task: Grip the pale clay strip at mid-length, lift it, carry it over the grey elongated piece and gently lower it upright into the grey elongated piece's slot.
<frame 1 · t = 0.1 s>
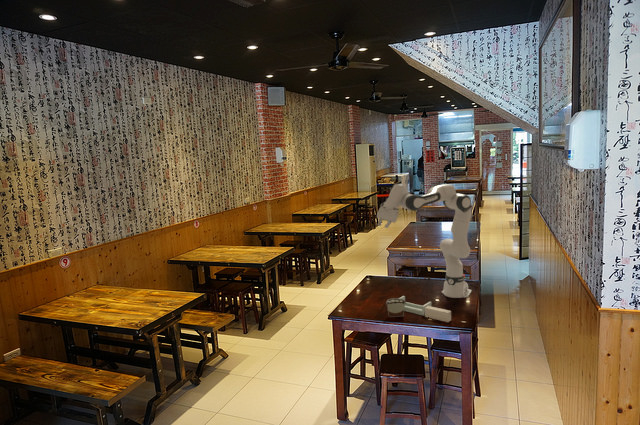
hand: (382, 226, 275), 54 cm above the table, tool tilted 30°, fingers open, 8 cm apart
clay strip: (437, 318, 261), on the table
food container: (395, 315, 269), on the table
grey elongated piece: (413, 309, 276), on the table
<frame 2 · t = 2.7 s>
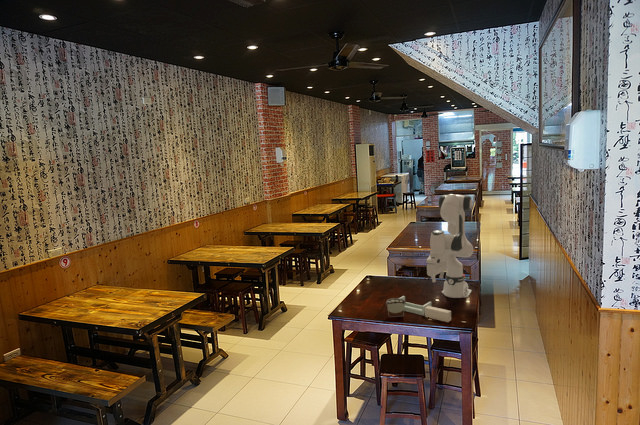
hand: (437, 280, 257), 24 cm above the table, tool pointing down, fingers open, 8 cm apart
nothing on the table moved.
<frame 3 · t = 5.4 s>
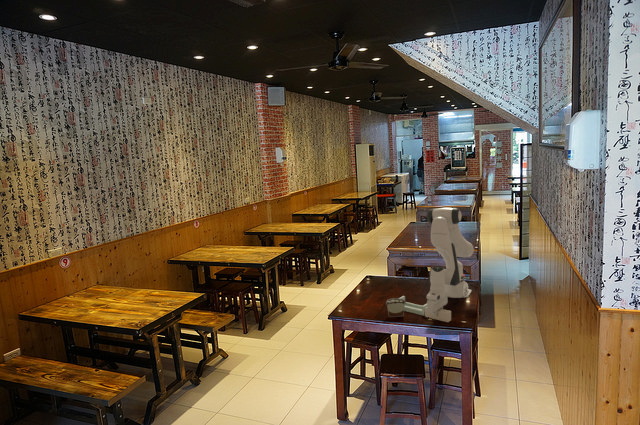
hand: (437, 315, 261), 2 cm above the table, tool pointing down, fingers closed on clay strip, 4 cm apart
clay strip: (437, 318, 261), on the table, touching gripper
everything else where it was.
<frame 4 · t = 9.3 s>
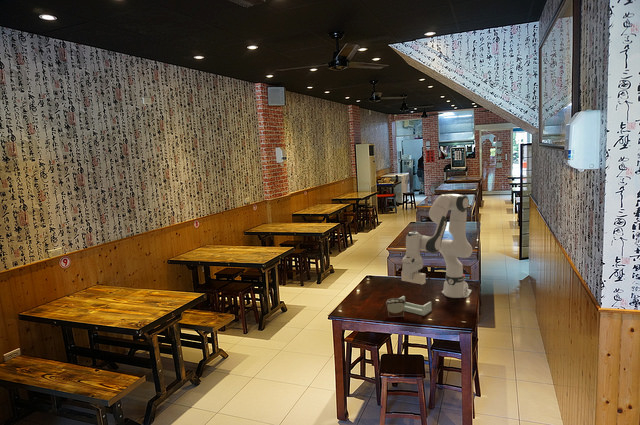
hand: (413, 278, 273), 21 cm above the table, tool pointing down, fingers closed on clay strip, 4 cm apart
clay strip: (413, 281, 274), point 19 cm above the table, touching gripper
everything else where it was.
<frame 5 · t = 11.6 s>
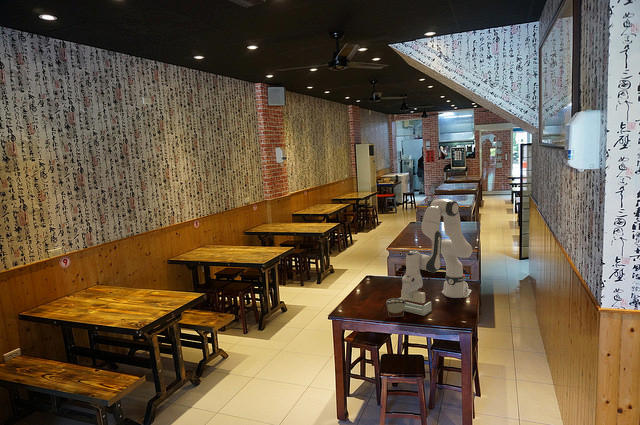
hand: (413, 297, 275), 9 cm above the table, tool pointing down, fingers closed on clay strip, 4 cm apart
clay strip: (413, 300, 275), point 6 cm above the table, touching gripper
everything else where it was.
when the fingers open (5 cm above the table, at t = 13.2 s): clay strip drops 1 cm, resting on grey elongated piece.
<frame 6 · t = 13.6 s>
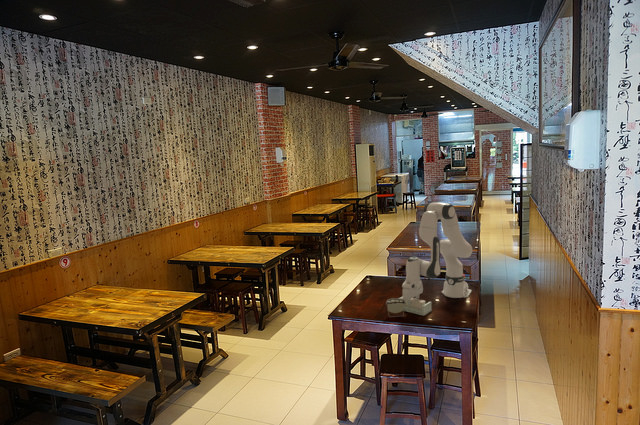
hand: (413, 303, 276), 5 cm above the table, tool pointing down, fingers open, 8 cm apart
clay strip: (413, 308, 276), point 1 cm above the table, touching grey elongated piece
everything else where it was.
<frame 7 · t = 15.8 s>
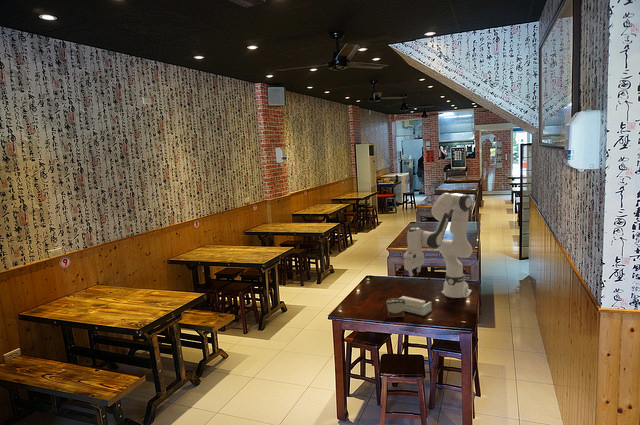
hand: (414, 273, 274), 24 cm above the table, tool pointing down, fingers open, 8 cm apart
nothing on the table moved.
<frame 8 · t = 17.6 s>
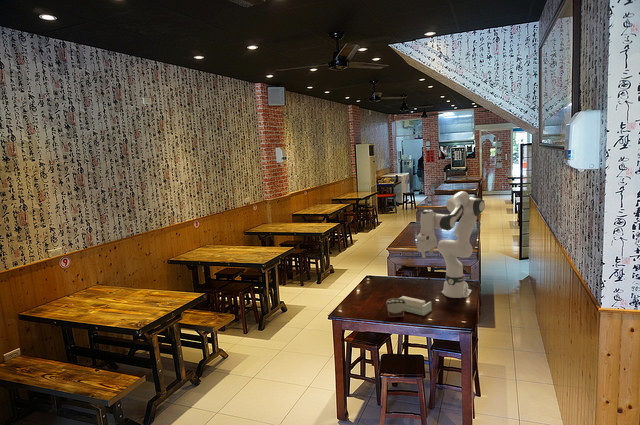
hand: (427, 256, 276), 34 cm above the table, tool pointing down, fingers open, 8 cm apart
nothing on the table moved.
at the end: clay strip 0.1 cm off-centre on the grey elongated piece, point 1.0 cm above the grey elongated piece's base; clay strip tilted 0°; the gripper is holding nothing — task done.
